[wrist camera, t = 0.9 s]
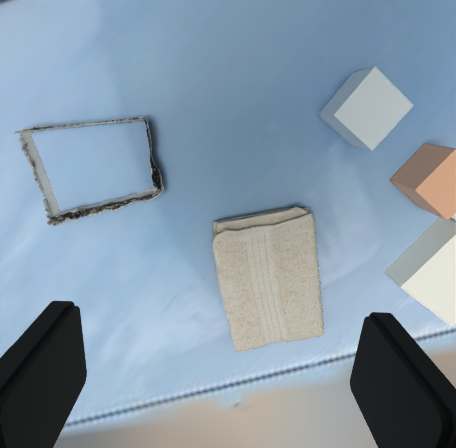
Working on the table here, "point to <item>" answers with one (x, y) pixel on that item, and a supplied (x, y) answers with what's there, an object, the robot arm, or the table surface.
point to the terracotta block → (430, 179)
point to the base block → (431, 270)
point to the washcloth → (269, 277)
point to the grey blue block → (365, 108)
